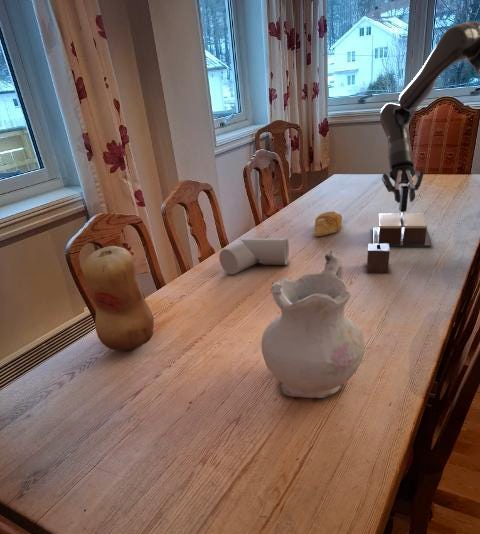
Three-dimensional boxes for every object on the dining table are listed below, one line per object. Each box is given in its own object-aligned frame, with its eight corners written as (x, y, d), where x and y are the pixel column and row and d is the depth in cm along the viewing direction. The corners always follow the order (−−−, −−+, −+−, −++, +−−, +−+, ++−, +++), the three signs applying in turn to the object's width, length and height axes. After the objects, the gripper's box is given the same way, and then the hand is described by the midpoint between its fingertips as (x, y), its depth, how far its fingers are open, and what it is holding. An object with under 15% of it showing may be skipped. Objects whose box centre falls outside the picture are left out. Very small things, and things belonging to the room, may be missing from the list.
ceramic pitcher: (286, 347, 100) (273, 247, 89) (372, 353, 93) (370, 244, 81) (255, 408, 83) (234, 294, 72) (358, 422, 76) (353, 296, 64)
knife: (401, 234, 152) (406, 185, 143) (403, 237, 149) (408, 187, 141) (396, 234, 152) (401, 185, 144) (398, 237, 150) (403, 187, 141)
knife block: (387, 264, 133) (389, 243, 129) (387, 273, 128) (389, 250, 124) (366, 264, 134) (368, 243, 131) (366, 272, 129) (368, 250, 126)
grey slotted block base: (424, 229, 156) (427, 211, 153) (430, 247, 141) (433, 227, 138) (373, 229, 161) (374, 211, 157) (373, 247, 146) (374, 227, 143)
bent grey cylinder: (257, 247, 152) (215, 266, 141) (260, 219, 146) (217, 237, 134) (296, 268, 143) (255, 290, 131) (301, 239, 136) (258, 260, 125)
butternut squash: (93, 362, 100) (61, 263, 88) (115, 331, 112) (89, 240, 99) (149, 362, 98) (125, 261, 86) (166, 331, 110) (146, 238, 97)
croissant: (323, 248, 158) (332, 231, 153) (301, 233, 160) (309, 215, 155) (344, 229, 173) (354, 212, 167) (324, 215, 175) (333, 199, 169)
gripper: (381, 150, 144) (385, 196, 140) (425, 147, 142) (431, 193, 138) (377, 164, 151) (381, 208, 147) (418, 161, 150) (424, 205, 145)
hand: (405, 200), depth 143 cm, fingers open, 3 cm apart
